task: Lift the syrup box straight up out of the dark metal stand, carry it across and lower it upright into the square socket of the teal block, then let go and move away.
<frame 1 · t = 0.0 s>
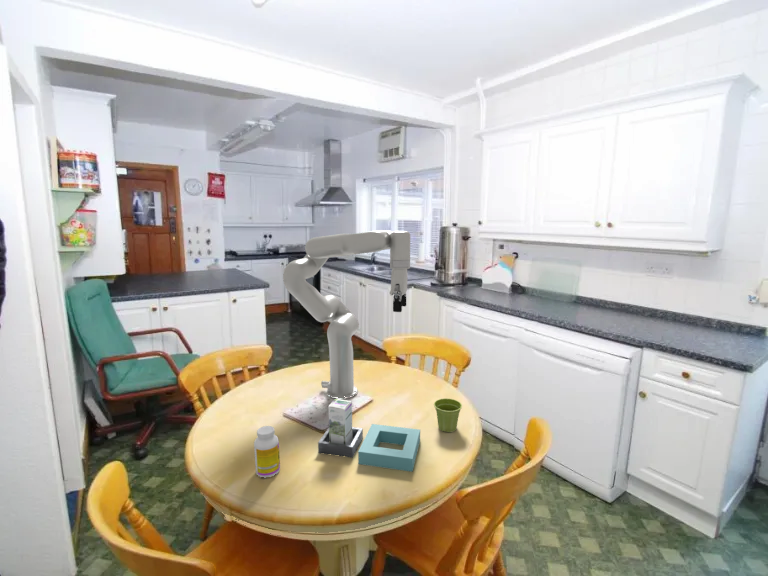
hand: (399, 308, 150), 37 cm above the table, tool pointing down, fingers open, 9 cm apart
syrup box: (341, 446, 124), resting in box stand
plant pot: (447, 428, 135), on the table
supplement bottle: (268, 472, 112), on the table
socket block: (390, 451, 121), on the table
box stand: (341, 445, 124), on the table
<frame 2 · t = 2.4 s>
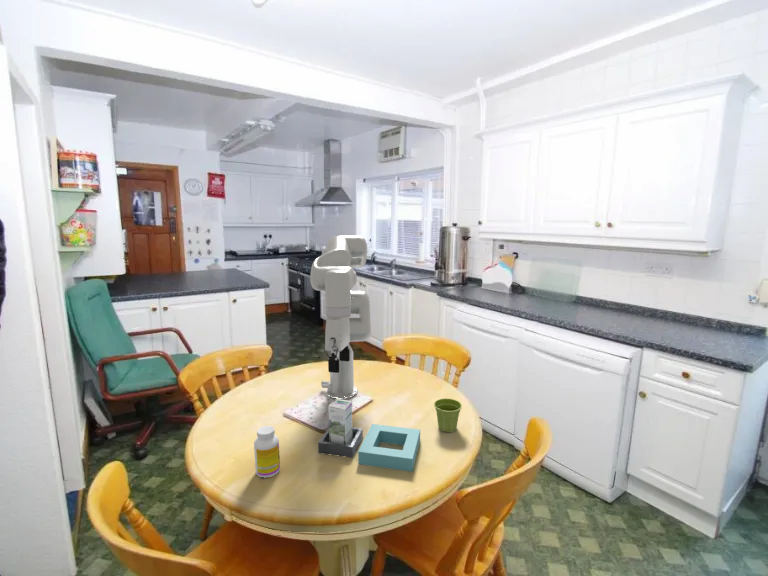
hand: (339, 366, 119), 26 cm above the table, tool pointing down, fingers open, 9 cm apart
nothing on the table moved.
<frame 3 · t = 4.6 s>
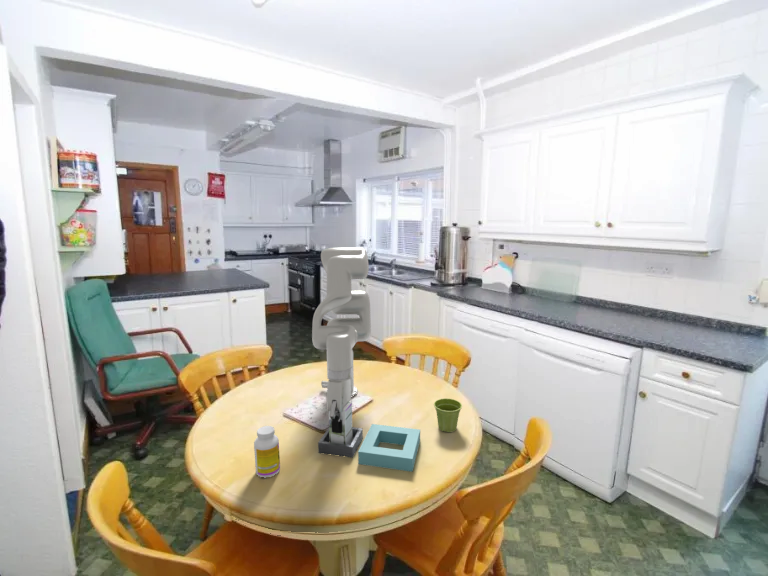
hand: (340, 426, 123), 7 cm above the table, tool pointing down, fingers closed on syrup box, 6 cm apart
syrup box: (341, 446, 124), resting in box stand, touching gripper
everything else where it was.
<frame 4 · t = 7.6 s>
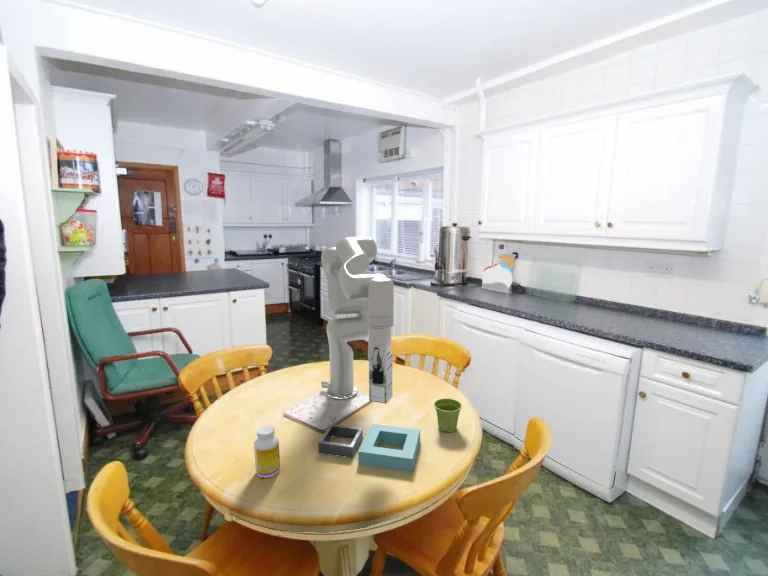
hand: (381, 378, 117), 24 cm above the table, tool pointing down, fingers closed on syrup box, 6 cm apart
syrup box: (381, 399, 118), point 17 cm above the table, touching gripper
everything else where it was.
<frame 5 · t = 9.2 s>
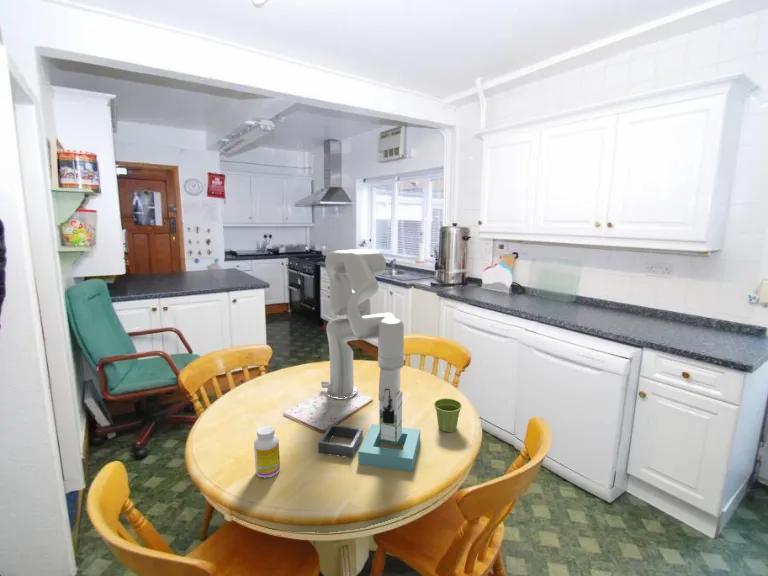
hand: (390, 416, 119), 12 cm above the table, tool pointing down, fingers closed on syrup box, 6 cm apart
syrup box: (390, 437, 120), point 5 cm above the table, touching gripper
everything else where it was.
when the fingers open (8 cm above the table, at t = 10.4 s): syrup box drops 1 cm, resting in socket block.
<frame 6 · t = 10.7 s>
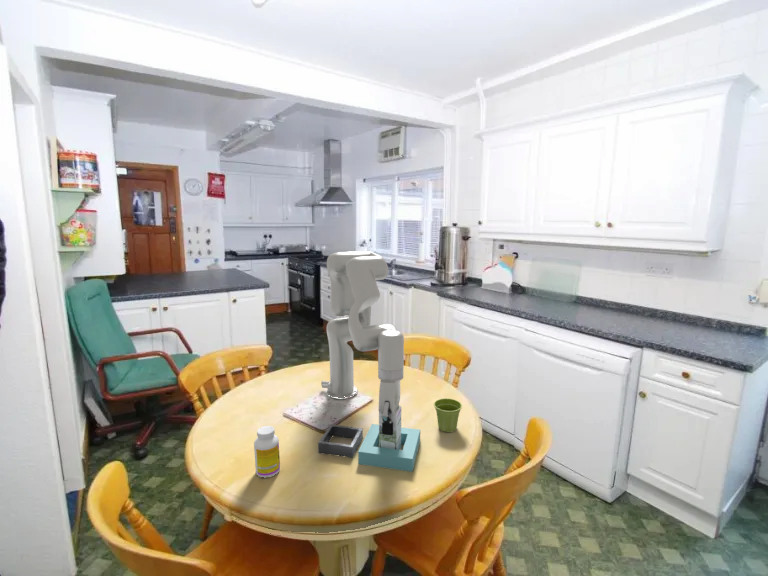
hand: (390, 426, 119), 9 cm above the table, tool pointing down, fingers open, 8 cm apart
syrup box: (390, 452, 121), resting in socket block
everything else where it was.
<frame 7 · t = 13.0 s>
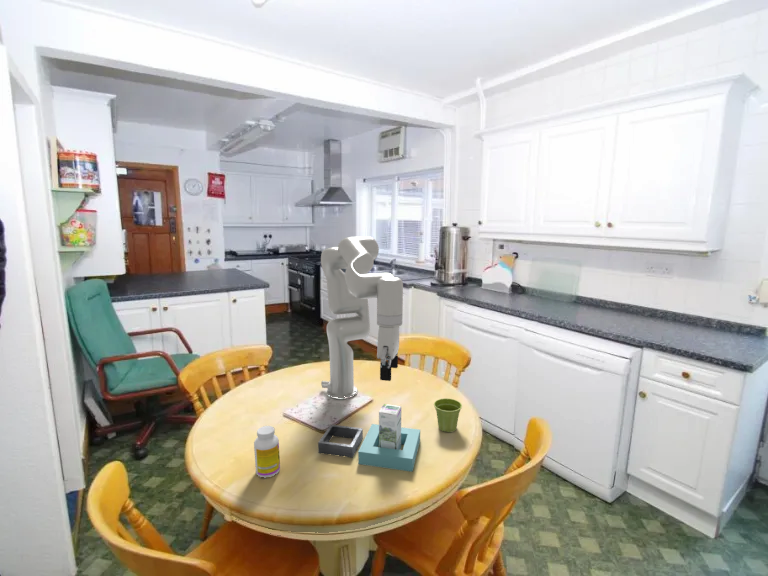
hand: (389, 373, 119), 24 cm above the table, tool pointing down, fingers open, 9 cm apart
nothing on the table moved.
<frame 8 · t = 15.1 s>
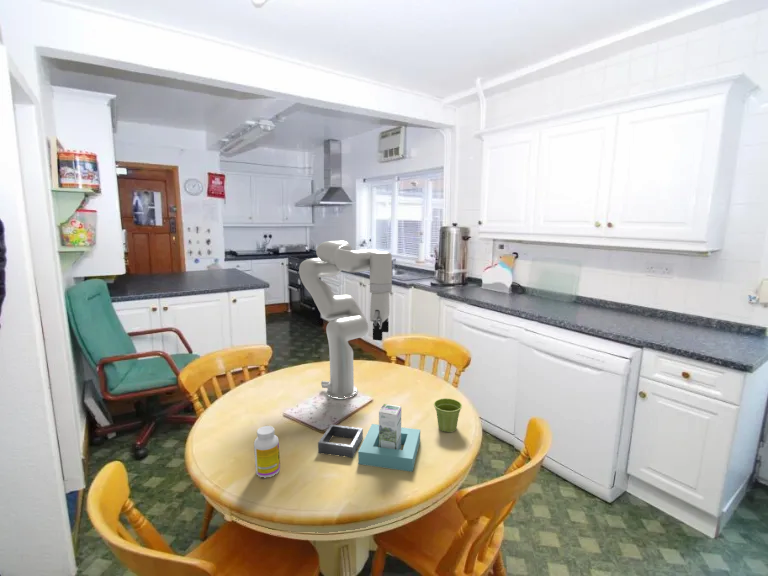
hand: (380, 335, 137), 30 cm above the table, tool pointing down, fingers open, 9 cm apart
nothing on the table moved.
at the end: syrup box 0.1 cm off-centre on the socket block, point 0.0 cm above the socket block's base; syrup box tilted 0°; the gripper is holding nothing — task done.
